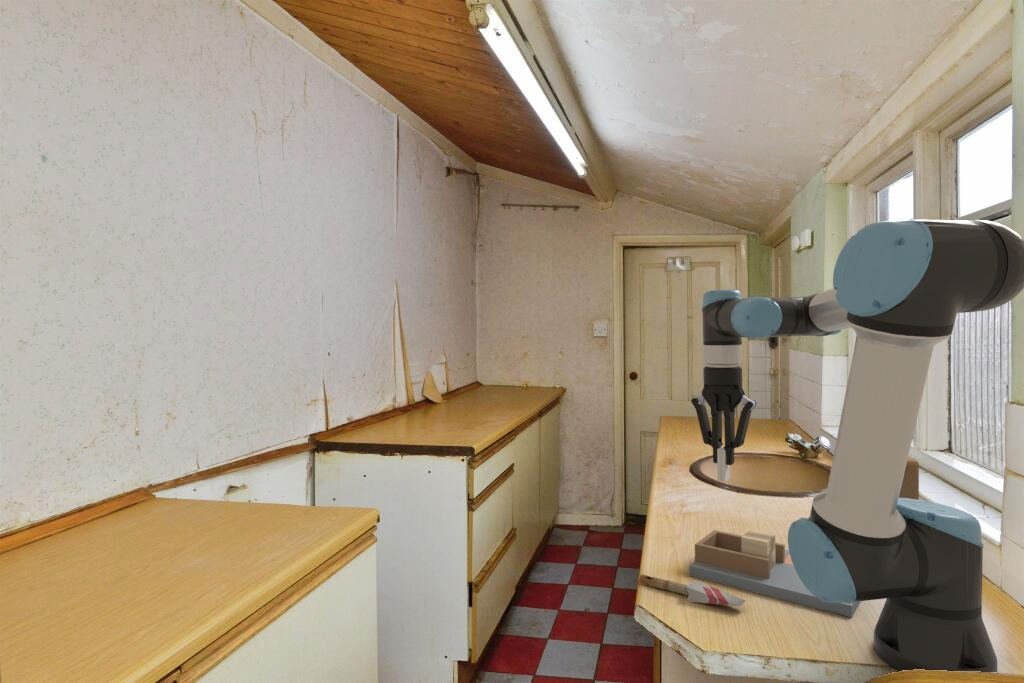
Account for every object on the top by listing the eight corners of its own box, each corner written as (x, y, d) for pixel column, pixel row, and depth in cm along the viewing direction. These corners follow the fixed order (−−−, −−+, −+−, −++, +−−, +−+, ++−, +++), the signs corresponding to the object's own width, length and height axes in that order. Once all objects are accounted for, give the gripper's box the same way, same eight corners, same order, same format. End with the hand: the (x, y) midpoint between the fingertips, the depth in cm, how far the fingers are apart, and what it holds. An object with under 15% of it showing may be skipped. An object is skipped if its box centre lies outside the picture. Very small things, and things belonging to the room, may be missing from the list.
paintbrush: (738, 599, 105) (635, 575, 118) (739, 615, 105) (636, 589, 118) (746, 591, 108) (645, 568, 121) (747, 606, 108) (646, 582, 121)
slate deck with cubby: (851, 617, 104) (851, 585, 103) (689, 575, 122) (689, 548, 122) (873, 578, 119) (872, 550, 119) (726, 545, 138) (725, 521, 137)
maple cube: (767, 572, 118) (767, 542, 118) (741, 566, 121) (741, 537, 121) (775, 564, 122) (775, 535, 121) (750, 559, 125) (749, 530, 125)
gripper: (761, 365, 123) (762, 480, 124) (698, 363, 131) (700, 471, 132) (748, 367, 117) (750, 488, 118) (684, 365, 126) (685, 478, 126)
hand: (723, 479), depth 125 cm, fingers closed
